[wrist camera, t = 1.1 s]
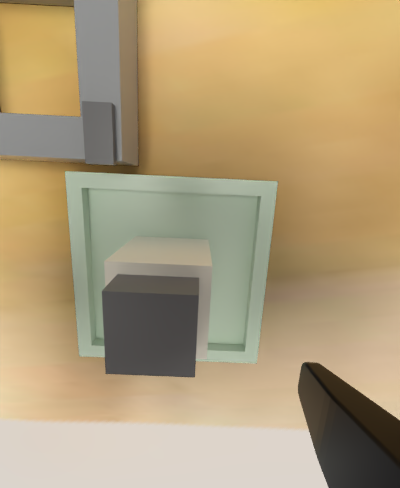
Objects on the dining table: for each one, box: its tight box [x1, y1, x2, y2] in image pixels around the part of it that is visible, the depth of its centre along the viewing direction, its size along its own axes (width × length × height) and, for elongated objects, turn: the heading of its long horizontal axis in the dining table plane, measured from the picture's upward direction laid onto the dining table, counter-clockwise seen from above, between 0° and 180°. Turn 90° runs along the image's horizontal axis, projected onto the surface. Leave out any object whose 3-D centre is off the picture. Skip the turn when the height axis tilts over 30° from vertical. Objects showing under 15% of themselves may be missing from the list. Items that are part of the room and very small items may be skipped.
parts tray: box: [65, 171, 278, 364], centre depth 15 cm, size 11×11×1 cm
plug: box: [102, 236, 213, 377], centre depth 12 cm, size 4×4×6 cm
